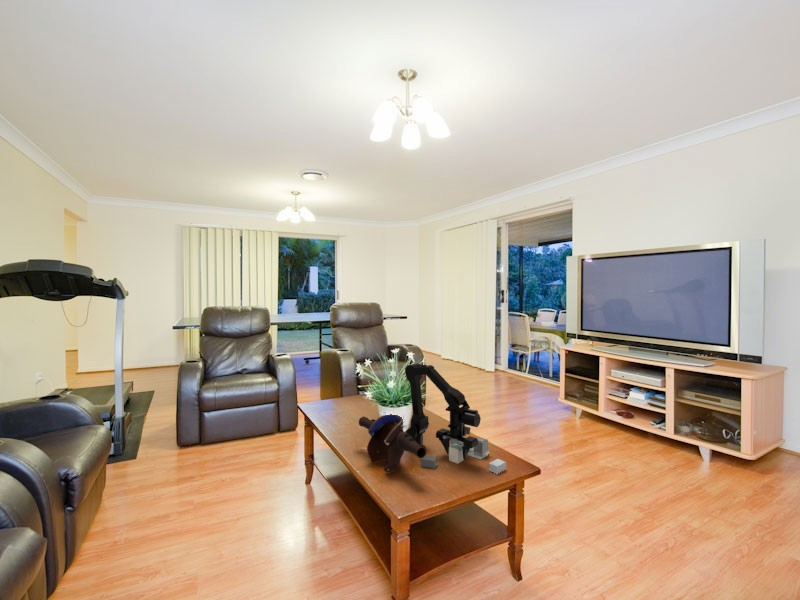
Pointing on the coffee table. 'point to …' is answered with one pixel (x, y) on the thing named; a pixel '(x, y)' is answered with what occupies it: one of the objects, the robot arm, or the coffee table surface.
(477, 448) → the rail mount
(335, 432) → the coffee table surface
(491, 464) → the terminal block
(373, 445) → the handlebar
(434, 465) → the block
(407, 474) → the coffee table surface
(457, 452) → the block
